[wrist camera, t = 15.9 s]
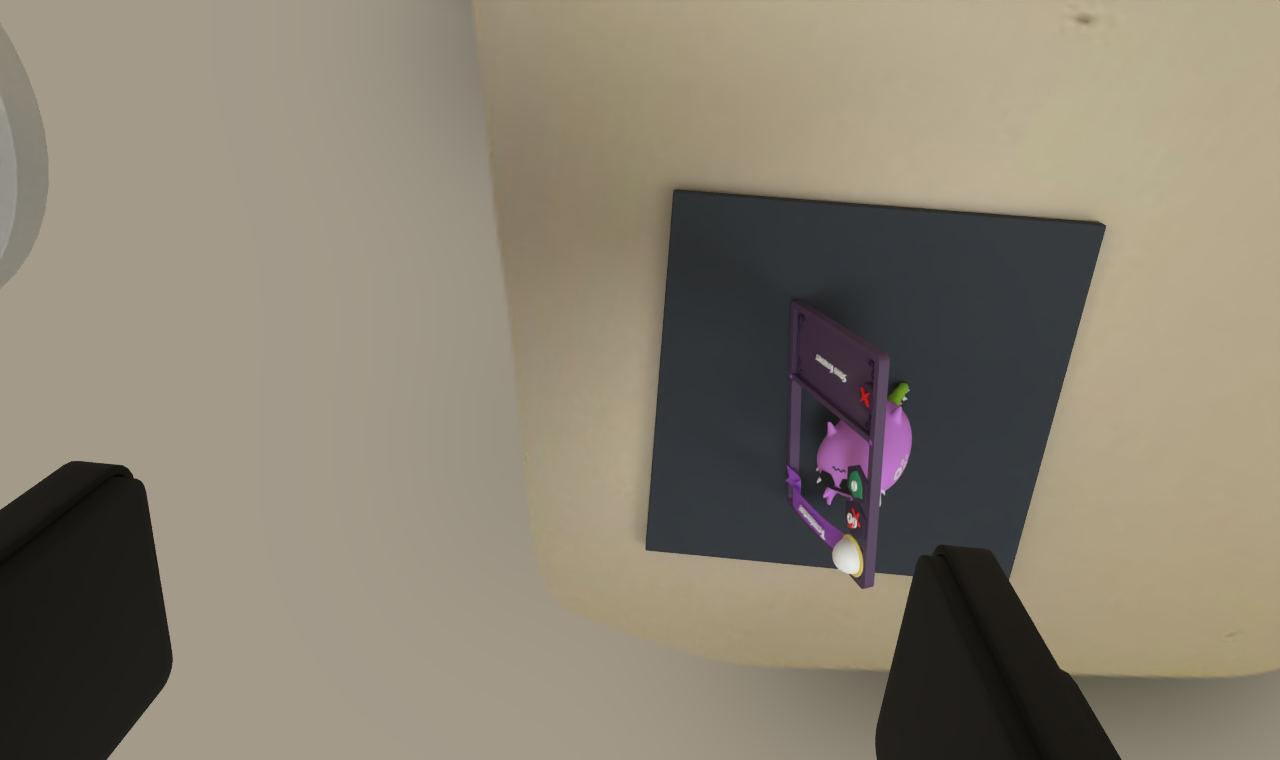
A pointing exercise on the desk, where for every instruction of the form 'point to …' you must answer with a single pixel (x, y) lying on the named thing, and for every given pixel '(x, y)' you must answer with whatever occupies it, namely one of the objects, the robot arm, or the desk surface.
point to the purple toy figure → (845, 433)
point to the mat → (890, 320)
